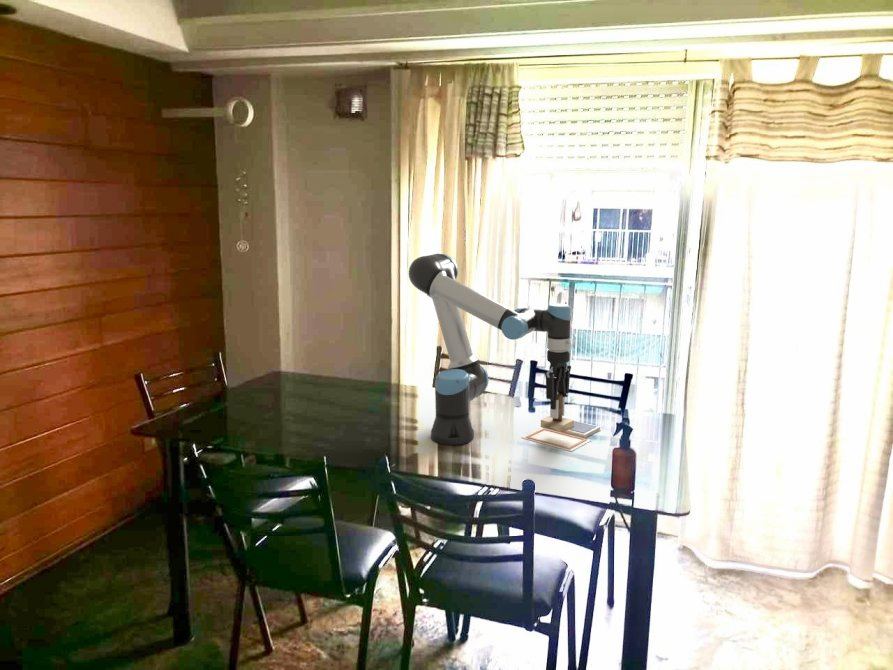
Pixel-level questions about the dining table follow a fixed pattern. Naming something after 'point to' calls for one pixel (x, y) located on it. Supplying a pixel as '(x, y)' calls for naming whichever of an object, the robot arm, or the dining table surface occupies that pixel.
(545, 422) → the stamp
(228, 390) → the dining table surface
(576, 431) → the ink pad
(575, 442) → the marked sheet
